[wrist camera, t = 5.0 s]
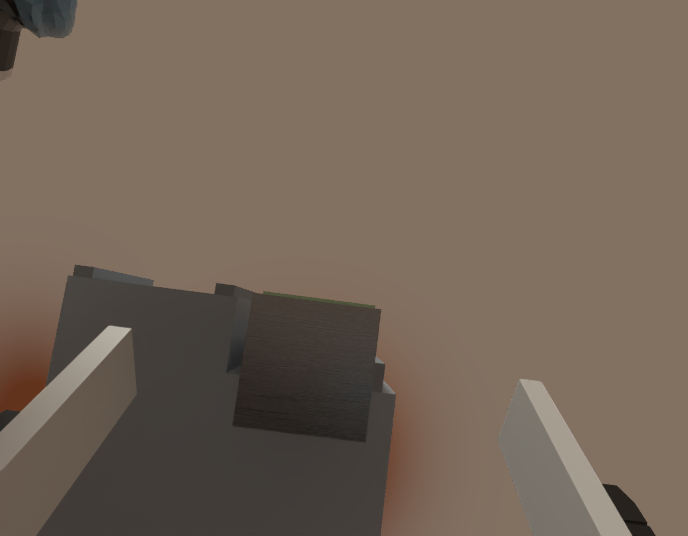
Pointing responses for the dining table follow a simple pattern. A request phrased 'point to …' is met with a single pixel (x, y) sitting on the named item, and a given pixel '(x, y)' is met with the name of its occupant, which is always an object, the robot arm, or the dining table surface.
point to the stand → (205, 429)
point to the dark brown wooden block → (307, 366)
